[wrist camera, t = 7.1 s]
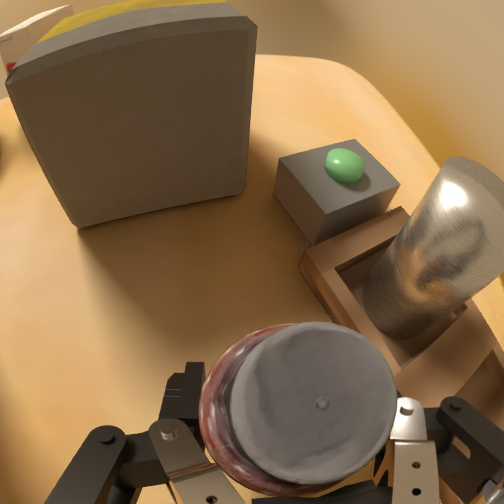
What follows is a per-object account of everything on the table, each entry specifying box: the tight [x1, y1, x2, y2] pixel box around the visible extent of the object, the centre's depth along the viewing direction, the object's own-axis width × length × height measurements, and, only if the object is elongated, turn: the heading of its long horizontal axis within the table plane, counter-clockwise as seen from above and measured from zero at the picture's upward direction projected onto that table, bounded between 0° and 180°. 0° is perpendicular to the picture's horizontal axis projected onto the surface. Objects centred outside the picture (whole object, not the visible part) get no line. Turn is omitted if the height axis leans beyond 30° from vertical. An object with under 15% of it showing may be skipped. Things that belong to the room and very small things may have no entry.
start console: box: [273, 139, 400, 247], centre depth 23 cm, size 8×6×5 cm
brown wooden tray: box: [298, 206, 504, 504], centre depth 17 cm, size 24×10×2 cm, turn 28°
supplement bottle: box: [199, 321, 397, 497], centre depth 11 cm, size 6×6×11 cm
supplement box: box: [0, 4, 74, 76], centre depth 29 cm, size 9×9×15 cm
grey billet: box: [362, 157, 504, 339], centre depth 15 cm, size 6×6×11 cm
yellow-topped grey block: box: [5, 0, 257, 228], centre depth 24 cm, size 15×24×15 cm, turn 16°
